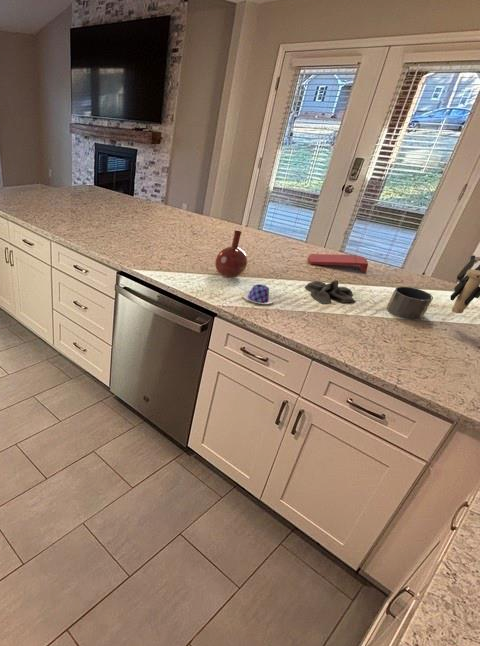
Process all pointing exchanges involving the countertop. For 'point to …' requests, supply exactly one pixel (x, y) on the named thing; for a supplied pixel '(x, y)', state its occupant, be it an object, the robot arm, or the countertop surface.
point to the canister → (409, 303)
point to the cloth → (329, 292)
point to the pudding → (259, 294)
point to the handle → (467, 290)
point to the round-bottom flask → (231, 259)
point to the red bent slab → (338, 260)
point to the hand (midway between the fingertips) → (458, 300)
